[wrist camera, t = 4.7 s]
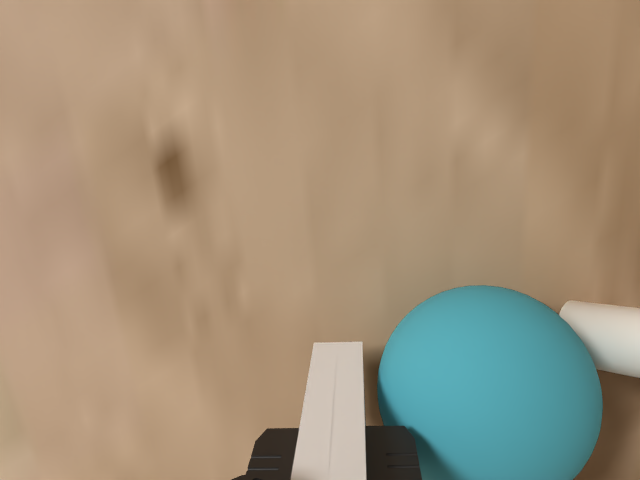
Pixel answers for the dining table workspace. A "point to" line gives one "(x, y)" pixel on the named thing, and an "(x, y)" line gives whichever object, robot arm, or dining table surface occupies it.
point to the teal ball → (491, 387)
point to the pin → (607, 334)
